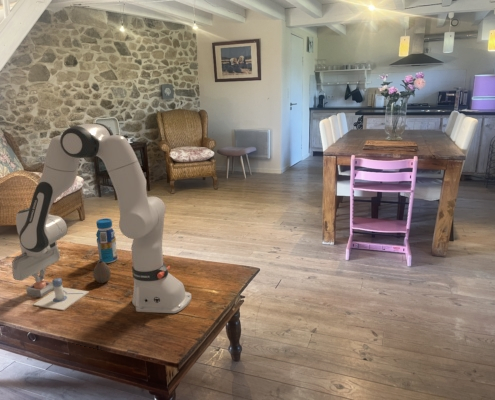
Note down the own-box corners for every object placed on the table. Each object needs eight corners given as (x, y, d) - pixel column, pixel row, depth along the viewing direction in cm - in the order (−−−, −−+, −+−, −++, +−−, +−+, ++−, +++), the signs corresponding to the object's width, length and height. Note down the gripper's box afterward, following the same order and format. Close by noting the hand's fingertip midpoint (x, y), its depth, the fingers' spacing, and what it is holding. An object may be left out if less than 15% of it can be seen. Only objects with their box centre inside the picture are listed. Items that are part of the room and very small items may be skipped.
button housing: (54, 289, 158) (53, 282, 157) (41, 297, 152) (40, 290, 151) (41, 286, 160) (39, 280, 159) (27, 295, 154) (26, 288, 153)
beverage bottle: (95, 261, 184) (90, 221, 179) (110, 255, 191) (106, 216, 186) (106, 265, 180) (101, 224, 174) (121, 259, 186) (117, 219, 181)
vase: (105, 285, 161) (103, 266, 158) (90, 284, 162) (88, 264, 160) (114, 277, 167) (112, 259, 165) (100, 276, 169) (97, 258, 166)
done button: (49, 289, 157) (48, 281, 156) (41, 294, 153) (39, 286, 152) (40, 287, 158) (39, 280, 158) (32, 292, 155) (31, 284, 154)
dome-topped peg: (66, 297, 151) (63, 278, 149) (60, 301, 148) (57, 282, 146) (59, 296, 152) (56, 277, 149) (53, 300, 149) (50, 281, 147)
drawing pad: (89, 292, 155) (89, 291, 155) (63, 310, 142) (63, 309, 142) (60, 287, 159) (60, 286, 159) (33, 305, 146) (33, 304, 146)
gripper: (18, 259, 140) (25, 294, 144) (59, 239, 159) (65, 270, 163) (4, 258, 142) (11, 292, 146) (47, 238, 161) (52, 269, 165)
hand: (40, 280), depth 155 cm, fingers closed
